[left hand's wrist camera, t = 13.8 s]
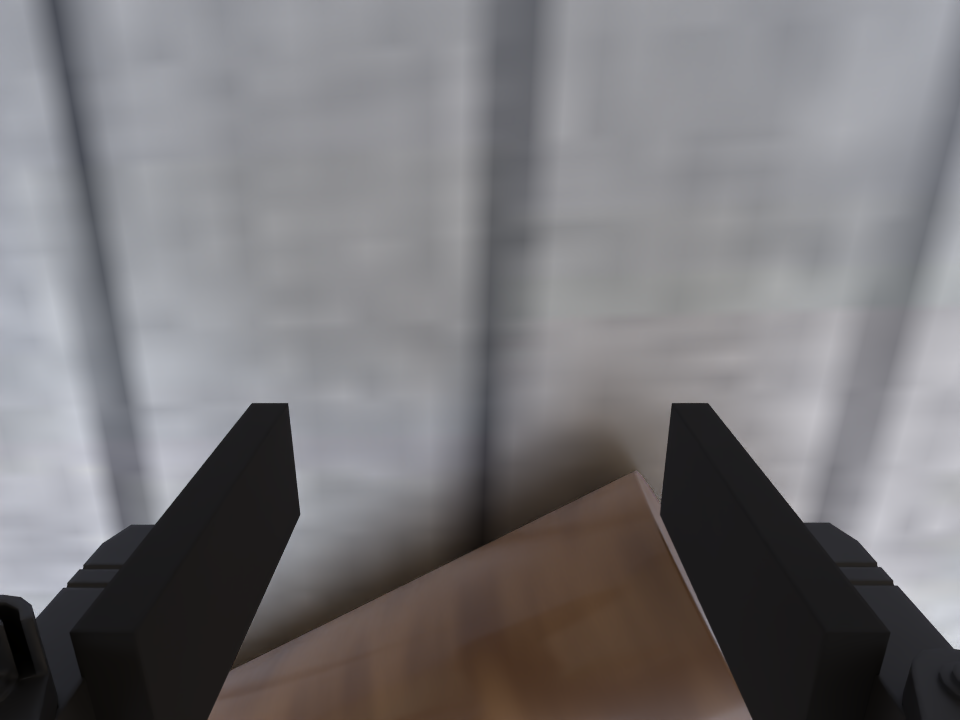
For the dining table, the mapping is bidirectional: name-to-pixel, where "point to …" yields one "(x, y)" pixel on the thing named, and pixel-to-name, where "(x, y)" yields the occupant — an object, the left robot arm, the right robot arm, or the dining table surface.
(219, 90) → the dining table surface
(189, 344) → the dining table surface
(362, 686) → the rod
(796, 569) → the left robot arm
